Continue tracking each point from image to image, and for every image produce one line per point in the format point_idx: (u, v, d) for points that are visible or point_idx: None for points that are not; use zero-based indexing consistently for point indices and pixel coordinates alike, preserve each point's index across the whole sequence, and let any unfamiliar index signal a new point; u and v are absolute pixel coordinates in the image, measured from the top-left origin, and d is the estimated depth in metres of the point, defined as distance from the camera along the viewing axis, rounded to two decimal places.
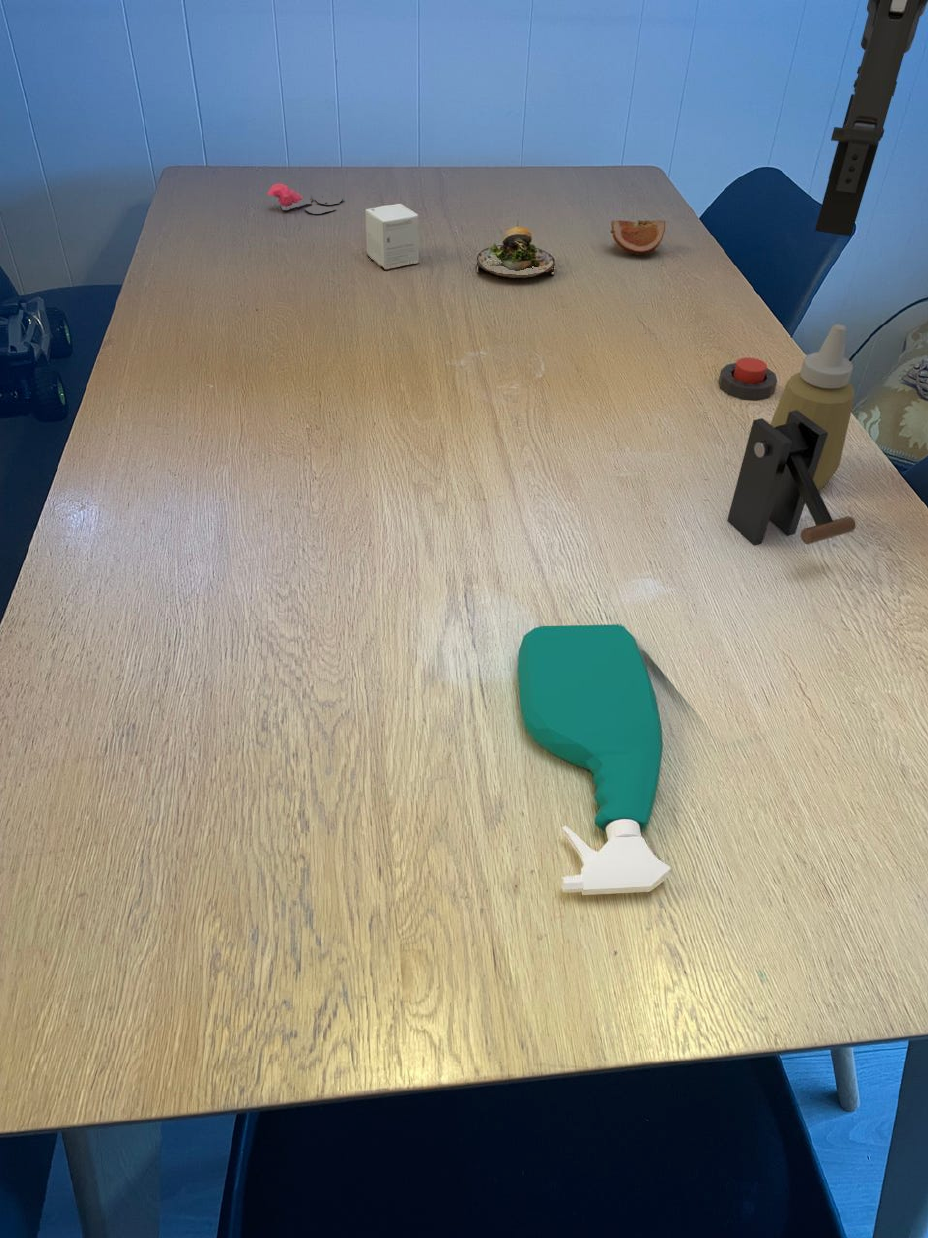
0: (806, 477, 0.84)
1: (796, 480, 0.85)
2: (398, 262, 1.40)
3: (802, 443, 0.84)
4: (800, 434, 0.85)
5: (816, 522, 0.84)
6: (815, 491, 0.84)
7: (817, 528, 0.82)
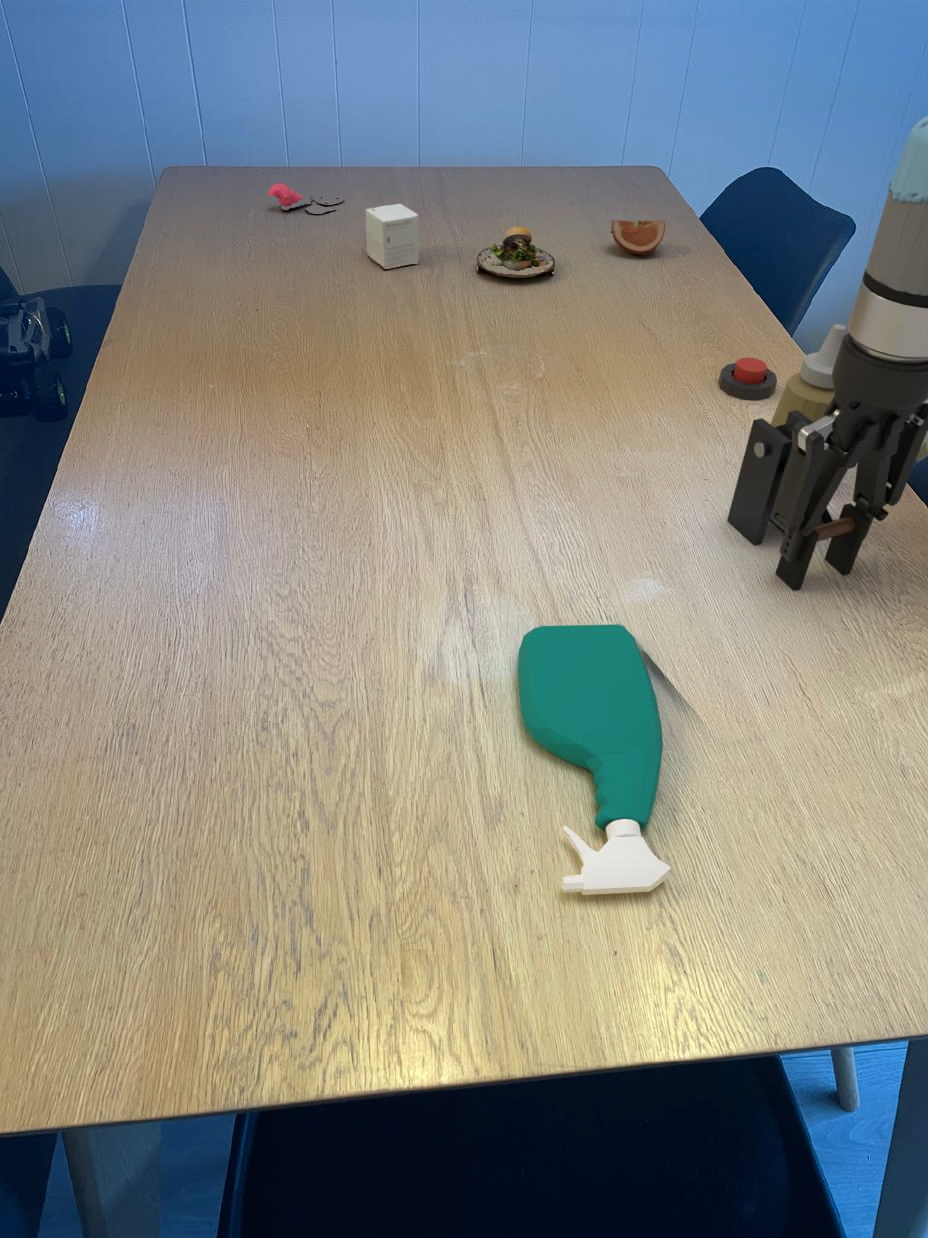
0: None
1: None
2: (398, 262, 1.40)
3: None
4: None
5: None
6: None
7: (817, 528, 0.82)
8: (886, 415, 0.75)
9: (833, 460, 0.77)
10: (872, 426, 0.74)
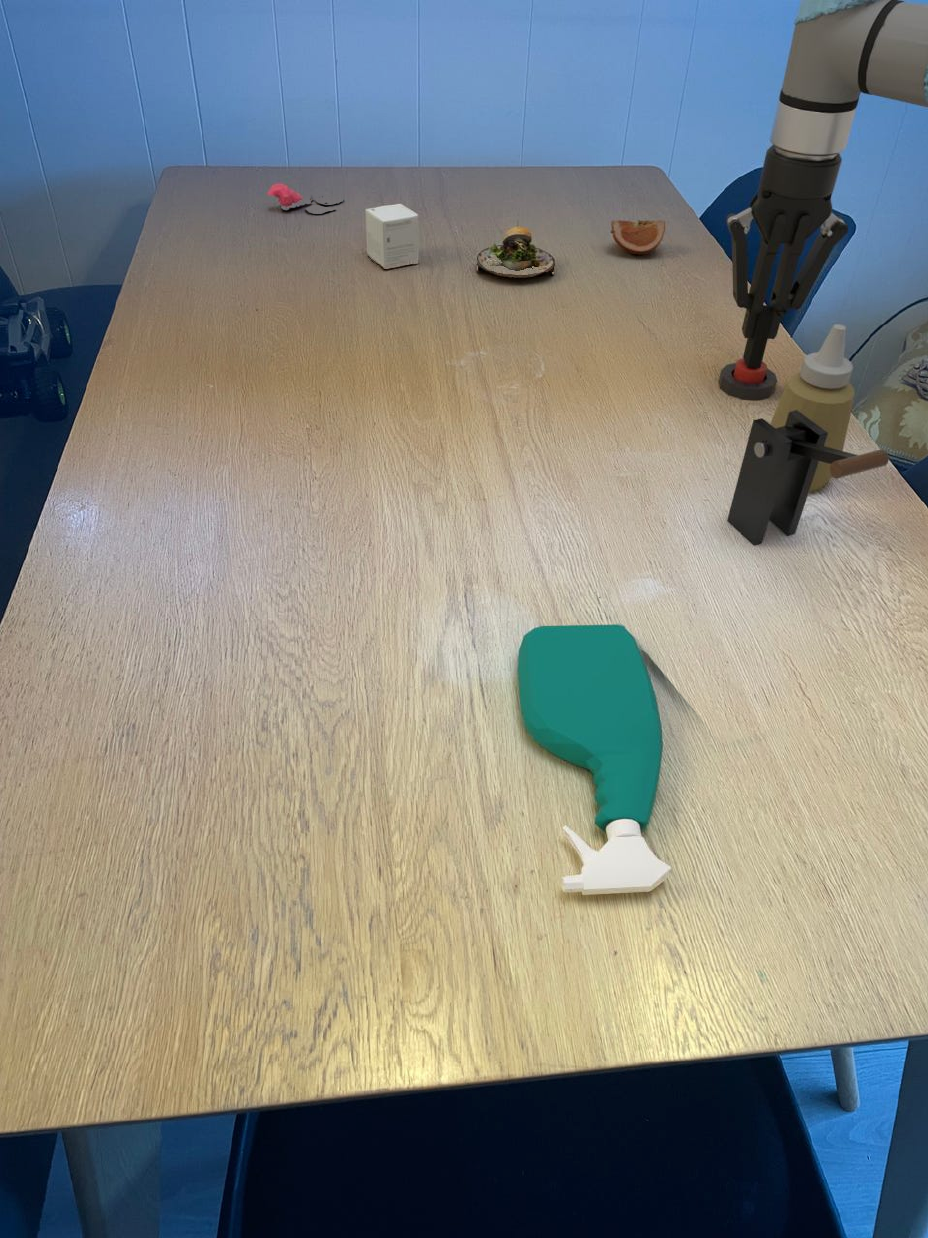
0: (815, 446, 0.82)
1: (808, 454, 0.82)
2: (398, 262, 1.40)
3: (798, 430, 0.85)
4: (793, 428, 0.85)
5: None
6: (829, 448, 0.81)
7: (842, 459, 0.77)
8: (799, 213, 0.98)
9: (764, 248, 1.01)
10: (780, 215, 0.98)
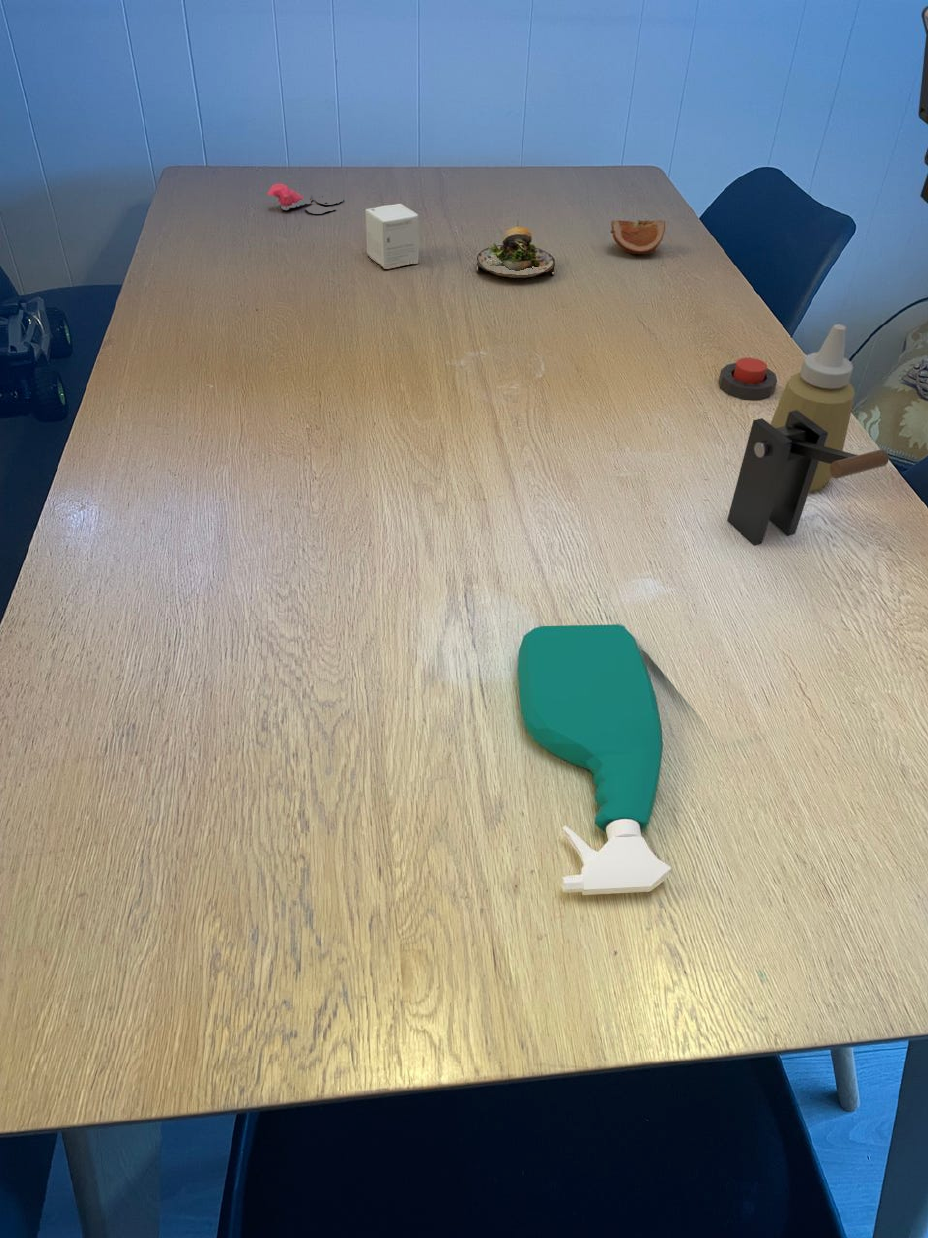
0: (815, 446, 0.82)
1: (808, 454, 0.82)
2: (398, 262, 1.40)
3: (798, 430, 0.85)
4: (793, 428, 0.85)
5: None
6: (829, 448, 0.81)
7: (842, 459, 0.77)
8: None
9: None
10: None
